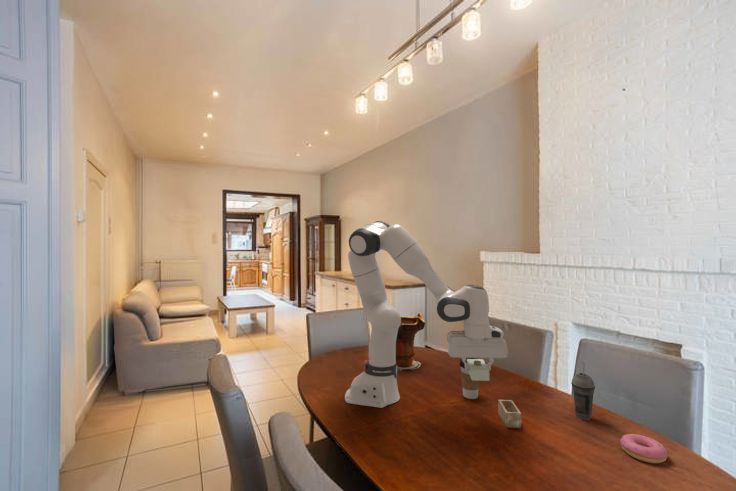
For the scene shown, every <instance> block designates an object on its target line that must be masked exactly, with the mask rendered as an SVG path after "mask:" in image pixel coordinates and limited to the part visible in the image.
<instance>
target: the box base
mask: <svg viewBox="0 0 736 491" xmlns="http://www.w3.org/2000/svg"><path fill="white" fill-rule="evenodd" d="M497 406H498V408H497V413H498V415H499V418H500V419H501V421H502V423H503V425H504V426H505V428H508V429H509V428H510V429H521V428H522V412H521V411H520V409H519V408H518V407H517V405H516V404H515V402H514V401H513V399H497Z"/></svg>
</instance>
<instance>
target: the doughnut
mask: <svg viewBox="0 0 736 491" xmlns="http://www.w3.org/2000/svg"><path fill="white" fill-rule="evenodd" d="M619 441H620V445H621V448H622V450H623V451H624V452H625V453H626V454H627V455H629V456H631V457H632V458H634V459H636V460H638V461H641V462H645V463H648V464H661V463H664V462H666V460H667V459H668V456H669V454H668V450H667V448H666V447H665V446H664V445H663V444H662V443H660V442H659V441H658V440H656V439H654V438H652V437H650V436H646V435H642V434H638V433H637V434H636V433H628V434H626V433H625V434H624V435H622V436H621V438H620V440H619Z"/></svg>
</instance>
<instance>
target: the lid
mask: <svg viewBox="0 0 736 491" xmlns="http://www.w3.org/2000/svg"><path fill="white" fill-rule="evenodd" d="M467 364H469V368H470V370H468V372H469V374H470V377H471V379H472V380H477V381H479V382H480V381H481V382H483V381H484V382H485V381H487V382H488V381H490V370H489V369H488V367H487V365H486V364H487V363H486V362H485V359H484V358H478V359H467Z"/></svg>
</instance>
